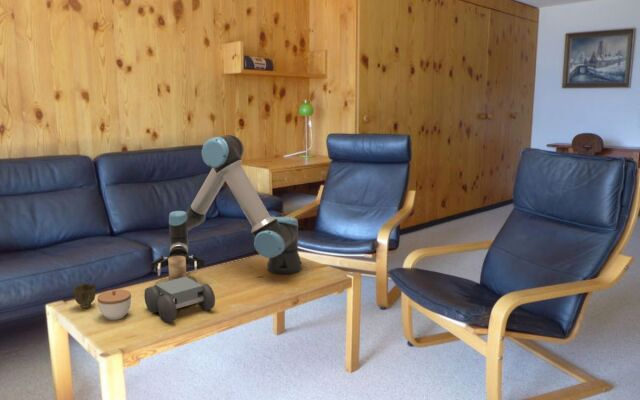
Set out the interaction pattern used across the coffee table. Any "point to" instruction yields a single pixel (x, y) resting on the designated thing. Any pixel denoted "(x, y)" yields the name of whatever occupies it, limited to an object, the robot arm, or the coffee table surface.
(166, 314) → the trolley
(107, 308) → the lidded jar
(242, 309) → the coffee table surface
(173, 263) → the tan wooden cylinder
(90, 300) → the dark brown textured bowl
